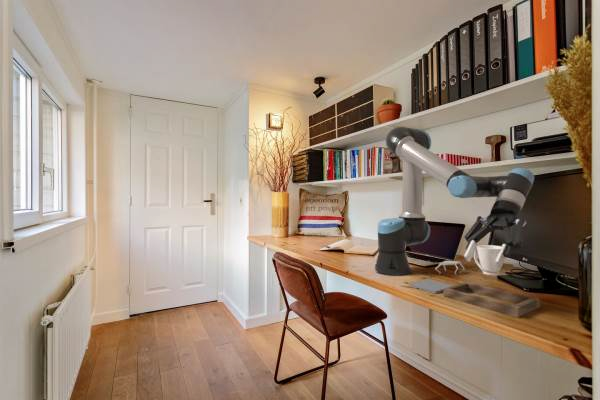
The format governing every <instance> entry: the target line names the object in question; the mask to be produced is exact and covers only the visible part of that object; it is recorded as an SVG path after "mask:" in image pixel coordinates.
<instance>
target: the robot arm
mask: <svg viewBox="0 0 600 400" xmlns="http://www.w3.org/2000/svg"><path fill="white" fill-rule="evenodd" d="M385 145H386V148H387V149H388V151H389V152H391V153H392V154H394V155H395V156H397V157H398V158H399V160H400V161H401V162H402V190H401V191H402V203H401V205H402V206H401V207H402V209H401V213H400V214H399V215H398V217H391V218H384V219H381V220H379V221H378V224H377V245H378V247H377V248H378V249H377V250H378V254H377V258H376V262H375V264H374V271H375V270H376V271H377V272H376V271H375V272H376V273H378V272H380V273H379V274H381V273H383V274H382V275H386V274H389V275H388V276H403V275H405V276H407V275H408V274H411V271H412V270H411V269H412V268H411V265H410V263H409V260H408V257H407V252H406V250H407V249H406V248H407V247H408V246H417V245H420V244H423V243H425V242H426V241H428V239H429V238H430V235H431V226H430V224H428V221H426V216H425V215H424V213H423V209H422V208H423V172H424V173H426V174H428V175H429V176H430V177H432V178H433V179H435V180H437V181H438V182H439V183H441V184H442V185H443V186H445V187H446V188H447V189H448V191H449V194H450V195H452V196H453V197H456V198H460V199H467V198H468V199H469V198H496V199H495V201H494V203H493V205H492V207H491V209H490V211H489V212H490V213H489V214H488V215H487V217H482V216H481V215H479V216H477V218H476V220H475V222H474V223H473V224H472V226H471V227H470V229H469V230H468V231H467V232H466V234H465V235H464V237H463V238H464V240H465V241H466V242H467V244H466V246H465V250H466V251H465V253H464V255H463V257H464V259H465V260H466V262H469V263H470V262H471V260H472V258H473V257H474V252H475V250H476V248H477V246H478V244H477V243H479V242H480V241H481V240H482V239H483V238H484V237H486V236H487V235H488V234H490V233H492V232H494V231H495V230H497V231H503V233H504V237H505V243H502V245H501V249H500V251H499V254H498V256H497V258H496V260H495V262H496V264H497V265H498V267H501V268H502V267H503V264H504V262H505V260H506V259H507V258H510V257H511V254H512V252H513V250H515V249H518V250H521V249H523V243H524V242H523V241H524V235H525V233H524V232H525V229H526V227H528V223H527V221H526V220H525V218H524V217H521V218H519V217H520V213H521V211H522V209H523V207H524V204H525V202H526V201H527V197H528V195H529V193H530V191H531V189H532V188H533V183H534V182H535V175H534V173H533V172H532V171H530V170H529V169H526V168H523V167H516V168H513V169H512V170H510V172H509V173H508V174H507V175H499V176H496V175H495V176H476V175H475V176H473V175H470V174H468V173H467V172H465V171H463V170H462V169H461V168H458V167H457V166H455V165H454V164H452V163H451V162H449V161H447V160H446V159H444V158H443V157H441V156H439V155H438V154H436V153H434V151H433V152H432V151H430V149H431V147H432V139H431V135H430V134H429V133H428V132H427V131H425V130H422V129H420V128H411V127H406V126H396V127H394V128H392V129H391V130H390V131H389V132H388V133H387V135H386V137H385ZM515 225H516V227H515V234H514V241H513V236H512V232H511V231H512V230H511V227H513V226H515Z"/></svg>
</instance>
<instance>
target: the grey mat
mask: <svg viewBox="0 0 600 400" xmlns="http://www.w3.org/2000/svg"><path fill="white" fill-rule="evenodd" d="M407 285H410V286H413V287H416V288H415V289H417V288H419V289H418V290H420V289H422V290H421V291H424V290H426V291H425V292H427V291H429V292H428V293H431V292H432V293H431V294H434V293H437V294H440V293H444V290H443V289H444V288H447V287H451V286H454V285H453V284H449V283H444V282H440V281H436V280H432V279H428V278H427V279H422V280H418V281H414V282H410V283H408V284H407ZM410 286H409V287H410ZM413 287H412V288H413Z"/></svg>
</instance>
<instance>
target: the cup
mask: <svg viewBox="0 0 600 400" xmlns="http://www.w3.org/2000/svg"><path fill="white" fill-rule="evenodd" d="M501 247H502V245H492V244H481V245H477V248H476V250H475V252H474V254H473V259H474V262H475V264H476V265H477V267H478V268H479V269H480V270H481V271H482V273H483V274H484V275H489V276H499V275H501V274H500V271H501V268H502V267H498V265H497V264H496V262H495V260H496V258H497V256H498V254H499V251H500V249H501ZM478 259H479V261H478Z"/></svg>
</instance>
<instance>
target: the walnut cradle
mask: <svg viewBox="0 0 600 400" xmlns="http://www.w3.org/2000/svg"><path fill="white" fill-rule="evenodd" d="M443 290H444V291H443V297H445V298H448V299H452V300H456V301H460V302H463V303H466V304H470V305H473V306H476V307H479V308H483V309H487V310H490V311H494V312H498V313H500V314H504V315H507V316H511V317H514V318H520V317H522V316H525V315H526V314H528V313H531V312H532V311H535V310H537V309H538V308H540V298H537V297H534V296H530V295H529V296H528V295H524V294H520V293H516V292H512V291H511V292H510V291H507V290H502V289H498V288H494V287H490V286H484V285H480V284H476V283H472V282H467V281H466V282H462V283H458V284H454V285H453V286H451V287H447V288H444V289H443ZM467 292H471V293H467ZM472 293H474V294H472ZM475 294H478V295H475ZM480 295H483V296H480ZM484 296H487V297H484ZM488 297H490V298H488ZM491 298H494V299H499V300H501V301H499V300H494V299H491ZM502 301H506V302H507V303H506V302H502ZM508 302H510V303H508ZM511 303H514V304H511Z"/></svg>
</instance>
